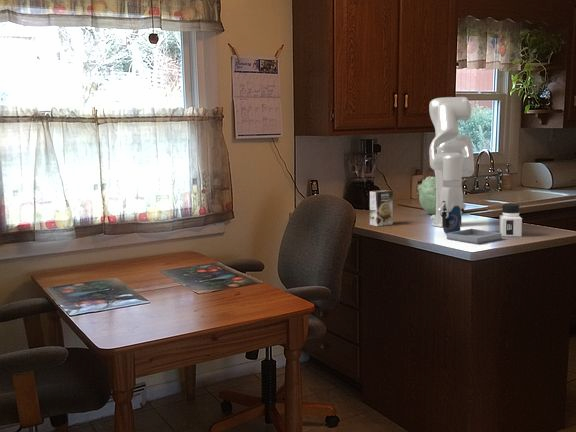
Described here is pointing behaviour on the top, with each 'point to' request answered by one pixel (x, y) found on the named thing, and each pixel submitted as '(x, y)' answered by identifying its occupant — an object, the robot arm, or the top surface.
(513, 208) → the container
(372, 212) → the coffee box
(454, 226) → the soda can
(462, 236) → the tray
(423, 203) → the cabbage
